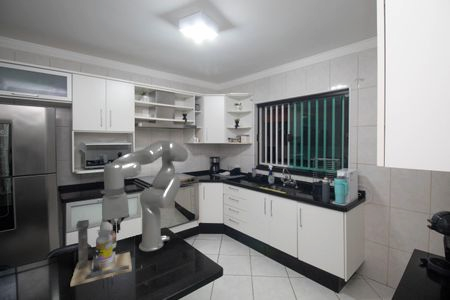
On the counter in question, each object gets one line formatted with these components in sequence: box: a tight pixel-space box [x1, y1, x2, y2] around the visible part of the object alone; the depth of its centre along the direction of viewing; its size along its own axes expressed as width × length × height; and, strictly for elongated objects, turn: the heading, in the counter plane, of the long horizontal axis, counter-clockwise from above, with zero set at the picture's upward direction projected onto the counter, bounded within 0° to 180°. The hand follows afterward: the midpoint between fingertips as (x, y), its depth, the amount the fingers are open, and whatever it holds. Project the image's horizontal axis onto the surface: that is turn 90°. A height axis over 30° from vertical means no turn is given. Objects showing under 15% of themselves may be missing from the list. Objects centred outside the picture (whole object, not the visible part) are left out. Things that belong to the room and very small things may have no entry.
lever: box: [90, 247, 102, 277], centre depth 85 cm, size 4×3×10 cm
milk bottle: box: [99, 221, 117, 250], centre depth 110 cm, size 8×8×20 cm
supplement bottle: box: [95, 229, 114, 262], centre depth 95 cm, size 7×7×13 cm
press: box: [70, 219, 133, 287], centre depth 92 cm, size 22×15×22 cm
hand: (116, 232), depth 91 cm, fingers closed
